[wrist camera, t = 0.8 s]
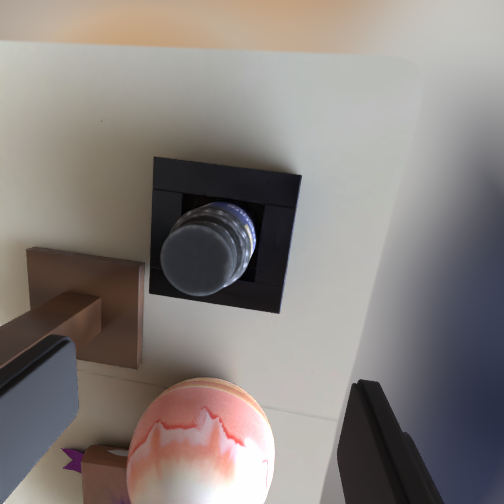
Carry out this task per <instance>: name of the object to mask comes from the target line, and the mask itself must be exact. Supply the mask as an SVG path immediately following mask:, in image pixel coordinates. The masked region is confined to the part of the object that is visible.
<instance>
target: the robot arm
mask: <svg viewBox="0 0 504 504" xmlns="http://www.w3.org/2000/svg"><path fill="white" fill-rule="evenodd" d="M78 409H79V399H78V383H77V367H76V350H75V343H74V342H72V340H71V338H70V337H68V336H62V335H55V334H50V335H48V336H47V337H45V338H44V339H42V340H41V341H40V342H38V343H37V344H35V345H34V346H32V347H31V348H29V349H28V350H27V351H25V352H24V353H22V354H21V355H19V356H18V357H16V358H15V359H14V360H12V361H11V362H9V363H8V364H6V365H5V366H4V367H2V368H1V369H0V504H3V503H4V501H5V500H6V499H7V498H8V497H9V495H10V494H11V493H12V492H13V491H14V490H15V488H16V487H17V486H18V485H19V484H20V482H21V481H22V480H23V479H24V478H25V476H26V475H27V474H28V473H29V472H30V471H31V469H32V468H33V467H34V466H35V465H36V463H37V462H38V461H39V460H40V459H41V458H42V456H43V455H44V454H45V453H46V452H47V450H48V449H49V448H50V447H51V446H52V444H53V443H54V442H55V441H56V440H57V439H58V437H59V436H60V435H61V434H62V433H63V431H64V430H65V429H66V428H67V427H68V425H69V424H70V423H71V422H72V421H73V420H74V418H75V417H76V415H77V413H78ZM337 461H338V467H339V472H340V477H341V482H342V487H343V492H344V497H345V502H346V504H444V502H443V500H442V498H441V496H440V494H439V492H438V490H437V488H436V486H435V484H434V482H433V480H432V478H431V476H430V474H429V472H428V470H427V468H426V466H425V464H424V462H423V460H422V458H421V456H420V454H419V452H418V450H417V448H416V445H415V444H414V441H413V440H412V438H411V437H410V435H409V434H408V433H407V432H402V430H401V428H400V426H399V424H398V422H397V419H396V417H395V415H394V413H393V411H392V409H391V407H390V405H389V402H388V400H387V398H386V396H385V394H384V392H383V390H382V388H381V385H380V384H379V383H378V382H375V381H368V380H362V379H360V380H359V381H358V383H357V384H356V383H353V384H352V386H351V390H350V395H349V400H348V404H347V408H346V413H345V417H344V422H343V426H342V431H341V435H340V440H339V444H338V449H337Z"/></svg>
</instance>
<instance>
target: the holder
mask: <svg viewBox="0 0 504 504" xmlns="http://www.w3.org/2000/svg"><path fill="white" fill-rule="evenodd" d="M301 179H302V175H297V174H289V173H281V172H273V171H265V170H257V169H249V168H241V167H233V166H226V165H218V164H210V163H202V162H194V161H186V160H178V159H170V158H162V157H154V164H153V190H152V219H151V248H150V278H149V294H155V295H162V296H168V297H175V298H181V299H187V300H194V301H200V302H207V303H213V304H220V305H226V306H232V307H239V308H245V309H252V310H258V311H265V312H271V313H277V314H280V309H281V303H282V297H283V291H284V284H285V278H286V272H287V266H288V260H289V253H290V247H291V241H292V235H293V228H294V222H295V216H296V210H297V209H296V208H297V204H298V197H299V191H300V185H301ZM196 195H201V196H209V197H216V198H224V199H231V200H239V201H246V202H254V203H261V204H265V206H264V214H263V221H262V229H261V236H260V244H259V251H258V259H257V266H256V268H249V267H247V268H246V270H245V271H244V273H243V274H242V275H241V276H240V277H239V278H238V279H237V280H236V281H235V282H233V283H232V284H230V285H228V286H226V287H223V288H222V289H220V290H219V291H217V292H215V293H213V294H210V295H206V296H193V295H188V294H186V293H184V292H182V291H180V290H178V289H177V288H175V287H174V286H173V285H172V284H171V283H170V282H169V281H168V279H167V278H166V276H165V274H164V272H163V269H162V266H161V258H160V255H161V249H162V246H163V243H164V241H165V240H166V238H167V237H168V236H169V234H170V231H171V229H172V227H173V225H174V224H175V222H176V221H177V220H178V219H179V218H180V217H181V216H183V215H184V214H185V213H186V212H188V211H191V210H193V209H195V198H196Z"/></svg>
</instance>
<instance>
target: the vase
mask: <svg viewBox="0 0 504 504" xmlns="http://www.w3.org/2000/svg"><path fill="white" fill-rule="evenodd" d="M274 457H275V453H274V440H273V434H272V431H271V427H270V424H269V421H268V419H267V417H266V415H265V413H264V412H263V410H262V408H261V407H260V406H259V404H258V403H257V402H256V401H255V399H254V398H253V397H252V396H251V395H250V394H249V393H247V392H246V391H245V390H243V389H242V388H241V387H239V386H237V385H235V384H234V383H231V382H229V381H226V380H223V379H219V378H212V377H198V378H192V379H188V380H185V381H182V382H179V383H177V384H175V385H173V386H171V387H169V388H168V389H166V390H165V391H164V392H162V393H161V394H160V395H158V396H157V397H156V398H155V400H154V401H153V402H152V403H151V404H150V405H149V406H148V408H147V409H146V411H145V412H144V414H143V415H142V417H141V419H140V420H139V422H138V424H137V426H136V429H135V432H134V434H133V437H132V440H131V443H130V447H129V451H128V458H127V466H126V478H127V489H128V495H129V499H130V503H131V504H263V503H264V500H265V498H266V496H267V493H268V489H269V486H270V483H271V480H272V475H273V468H274Z"/></svg>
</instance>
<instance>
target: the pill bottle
mask: <svg viewBox="0 0 504 504" xmlns="http://www.w3.org/2000/svg"><path fill="white" fill-rule="evenodd" d="M258 237H259V229H258V223H257V221H256V218H255V216H254V215H253V213H252V212H251V210H249V209H248V208H247V207H246V206H245V205H243V204H241V203H238V202H235V201H232V200H219V201H216V202H213V203H210V204H207V205H205V206H202V207H199V208H196V209H193V210H191V211H188V212H186V213H185V214H184V215H183V216H181V217H180V218H179V219H178V220H177V221H176V222H175V224H174V225H173V227H172V229H171V231H170V234H169V236H168V237H167V238H166V240H165V241H164V243H163V246H162V249H161V255H160V258H161V266H162V269H163V272H164V274H165V276H166V278H167V279H168V281H169V282H170V283H171V284H172V285H173V286H174V287H175V288H177V289H178V290H180V291H182V292H184V293H186V294H188V295H193V296H206V295H210V294H213V293H215V292H217V291H219V290H220V289H222V288H223V287H226V286H228V285H230V284H232V283H233V282H235V281H236V280H237V279H238V278H239V277H240V276H241V275H242V274H243V273H244V271H245V270H246V268H247V266H248V263H249V261H250V258H251V256H252V253H253V251H254V249H255V246H256V244H257V240H258Z"/></svg>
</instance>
